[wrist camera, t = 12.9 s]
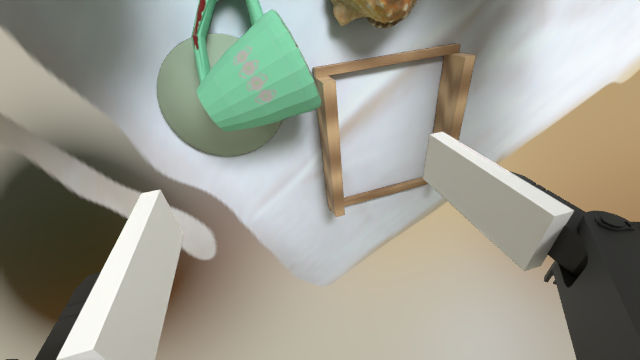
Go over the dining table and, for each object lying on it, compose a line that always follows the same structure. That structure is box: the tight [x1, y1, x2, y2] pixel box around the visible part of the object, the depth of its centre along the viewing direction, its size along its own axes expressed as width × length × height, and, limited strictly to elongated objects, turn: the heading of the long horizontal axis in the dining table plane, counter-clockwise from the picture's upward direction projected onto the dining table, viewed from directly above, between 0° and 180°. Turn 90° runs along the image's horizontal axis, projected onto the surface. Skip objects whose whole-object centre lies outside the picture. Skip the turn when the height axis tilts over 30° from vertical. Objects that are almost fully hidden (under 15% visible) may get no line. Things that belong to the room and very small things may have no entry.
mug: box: [191, 0, 322, 132], centre depth 26 cm, size 15×10×10 cm
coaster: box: [157, 33, 282, 156], centre depth 31 cm, size 14×14×1 cm
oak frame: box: [313, 44, 476, 217], centre depth 38 cm, size 22×20×4 cm
